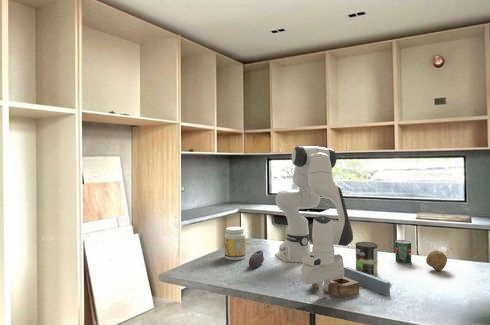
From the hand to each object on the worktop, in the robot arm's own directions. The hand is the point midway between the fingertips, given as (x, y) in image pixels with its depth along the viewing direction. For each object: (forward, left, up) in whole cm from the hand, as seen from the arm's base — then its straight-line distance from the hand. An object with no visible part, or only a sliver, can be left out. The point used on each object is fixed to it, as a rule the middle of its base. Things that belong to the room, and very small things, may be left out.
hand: (323, 291), depth 143 cm
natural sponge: (+3, +70, -2) cm, 70 cm away
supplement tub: (-69, -5, -2) cm, 69 cm away
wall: (0, +24, -2) cm, 24 cm away
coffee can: (-12, +38, -2) cm, 40 cm away
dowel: (-10, +5, -2) cm, 11 cm away
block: (0, +10, -2) cm, 10 cm away
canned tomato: (-15, +69, -2) cm, 70 cm away
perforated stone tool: (-49, -3, -2) cm, 49 cm away
